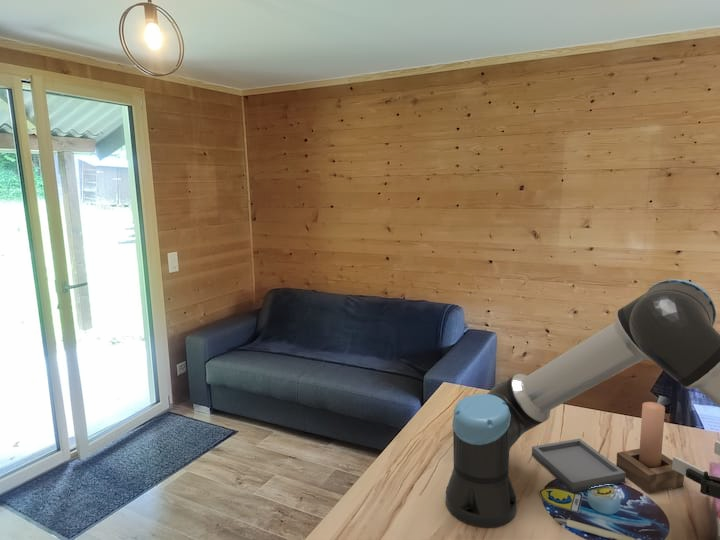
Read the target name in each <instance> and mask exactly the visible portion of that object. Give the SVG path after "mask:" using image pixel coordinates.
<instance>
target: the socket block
mask: <svg viewBox="0 0 720 540" xmlns="http://www.w3.org/2000/svg"><path fill="white" fill-rule="evenodd" d="M639 450H640V448H635V449H630V450H624V451H619V452H616V464H615V465H616V466H617V467H619V468H620V469H622V470H623V471H624V472H626V475H625V479H628V480H629V481H630V482H632V483H633V484H634V485H636V486H637V487H638V488H639V489H641V490H643V491H644V492H645V493H646V494H652V493H657V492H661V491H667V490H671V489H677V488H682V487H684V485H685V484H684V483H685V475H683V474H681V473H679V472H677V471H675V470H673V469H672V464H673V459H671V458H670V457H668V456H666V455H665V454H663V453H662V455H661V467H656V468H651V469H649V468H648V467H646V466H645V465H643V464H642V463H640V462H639Z"/></svg>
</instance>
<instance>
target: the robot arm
mask: <svg viewBox="0 0 720 540" xmlns="http://www.w3.org/2000/svg"><path fill="white" fill-rule="evenodd" d="M716 316H717V311H716V307H715V304H714V302H713V299H712V297H711V295H710V294H709V293H708V292H707V291H706V290H705V289H704V288H703V287H701V286H700V285H698V284H696V283H694V282H692V281H689V280H685V279H679V278H678V279H675V278H674V279H668V280H662V281H659V282H657V283H656V284H653V285H652V286H651V287H650V288H649V289H648V290H647V291H646V292H645V293H643V294H642V295H640V296H639V297H637V298H635V299H634V300H632V301H630V302H629V303H627V304H626V305H625V306H622V307H621V308H620V309H618V310H617V311H616V314H615V320H614V322H612V323H611V324H609V325H608V326H606V327H605V328H603V329H601V330H599V331H598V332H596V333H595V334H593V335H591V336H590V337H588V338H586V339H585V340H583V341H582V342H580V343H578V344H577V345H575V346H573V347H572V348H570V349H569V350H567V351H565V352H564V353H562V354H560V355H559V356H558V357H555V358H554V359H552V360H551V361H549V362H547V363H546V364H544V365H543V366H541V367H539V368H538V369H536V370H534V371H533V372H531V373H530V374H528V375H526V374H523V373H517V374H514V375H513V376H511V377H510V378H508V379H505V380H503V381H500V382H498V383H497V384H496V385H494V386H493V387H492V389H490V390H489V391H488V392H487V393H475V394H474V395H467V396H465V397H462V399H460V400H459V401H458V402H457V404H456V405H455V406H454V410H453V418H452V428H453V429H452V432H453V439H452V440H453V441H452V442H453V446H452V447H453V470H452V472H451V475H450V478H449V480H448V483H447V486H446V488H445V489H446V490H445V504H446V507H447V509H448V511H449V512H450V514H452V515H453V516H454V517H455V518H456V519H458V520H459V521H461V522H463V523H465V524H467V525H471V526H475V527H479V528H496V527H500V526H503V525H506V524H508V523H509V522H512V521H513V519H514V518H515V516H516V514H517V509H518V508H517V506H518V504H517V503H518V502H517V501H518V500H517V496H516V492H515V490H514V487H513V484H512V481H511V477H510V474H509V469H510V468H509V467H510V449H511V448H512V446H513V445H515V444H516V442H517V441H518V440H519V438H521V437H522V435H524V434H525V433H526V432H528V431H529V430H531V429H533V428H535V427H537V426H538V425H541V424H542V423H544V422H547V421H548V420H549V419H550V417H551V416H550V415H551V410H553V409H554V408H557V407H558V406H560V405H563V404H564V403H566V402H567V401H570V400H572V399H573V398H575V397H577V396H579V395H581V394H583V393H585V392H586V391H588V390H590V389H591V388H594V387H596V386H598V385H599V384H601V383H602V382H605V381H607V380H608V379H611V378H613V377H614V376H616V375H618V374H620V373H622V372H623V371H625V370H627V369H629V368H631V367H633V366H635V365H637V364H638V363H640V362H643V361H644V360H647V361H651V362H654V363H655V365H657V366H658V367H659V368H660V369H662V370H663V371H664V372H665V373H666V374H668V375H669V376H670V377H672V379H674V380H675V381H676V382H678V383H679V384H680V385H681V386H682V387H684V388H685V389H687V390H688V389H691V390H692V389H694V390H697V391H699V392H700V393H701V394H703V396H705V397H706V398H707V399H709V400H710V401H711V402H712V403H714V404H715V405H716V406H717V407H719V408H720V333H719V332H718V331H717V330H716V329H715V328H714V325H715V322H716V318H717V317H716ZM713 453H714V454H716V455H718V456H720V441H719V440H716V441H714V449H713ZM672 460H673V464H672V469H673V470H675V471H677V472H679V473H681V474H683V475H684V477H686V478H687V479H689V480H691V481H692V482H695V483H697V484H699V485H700V491H699V492H700V493H701V494H702V495H705V496H708V497H712V498H715V499H718V500H720V477H718V476H714V475H709V472H708V471H707V470H704V469H702V468H700V467H698V466H696V465H694V464H692V463H690V462H688V461H686V460H684V459H683V458H680V457H679V456H676V455H675V456H673V457H672Z"/></svg>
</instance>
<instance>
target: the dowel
mask: <svg viewBox="0 0 720 540" xmlns="http://www.w3.org/2000/svg"><path fill="white" fill-rule="evenodd" d="M641 409H642V410H641V420H640V421H641V422H640V423H641V424H640V436H639V437H640V439H639V449H640V450H639V462H640V463H642V464H643V465H645V466H646V467H648V468H649V469H651V468H656V467H661V455H662V454H663V439H664V426H665V413H666V412H665V411H666V406H664V405H663V404H661V403H658V402H654V401H646V402H642V406H641Z"/></svg>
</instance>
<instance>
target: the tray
mask: <svg viewBox="0 0 720 540" xmlns="http://www.w3.org/2000/svg"><path fill="white" fill-rule="evenodd" d="M531 456H532V457H533V458H534V459H535V460H536V461H537V462H538V463H539V464H540V465H541V466H543V467H544V469H546V471H548V472H549V473H550V474H551V475H552V476H553V477H555V479H557V480H558V481H559V482H560V483H561V485H563V486H564V487H565V488H566V489H567V490H568V491H569V492H571V493H574V494H575V493H579V492H583V491H584V492H585V491H587V490H586V489H589V488H591V487H594V486H599V485H604V484H614V485H618V483H619V484H624V483H626V477H625V475H626V472H624V471H623V470H622V469H620V468H619V467H617V466H616V464H614V462H612V461H611V460H610V459H608V458H607V457H606V456H604V455H603V454H601V453H600V452H599V451H597V450H596V449H595V448H593V447H592V446H591V445H590V444H588V443H587V442H586V441H584V440H583V439H581V438H575V439H570V440H564V441H563V440H562V441H556V442H552V443H544V444H540V445H533V446H532V445H531ZM616 483H617V484H616ZM589 490H590V489H589Z"/></svg>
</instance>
